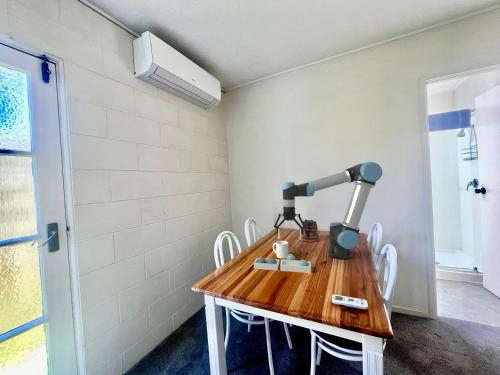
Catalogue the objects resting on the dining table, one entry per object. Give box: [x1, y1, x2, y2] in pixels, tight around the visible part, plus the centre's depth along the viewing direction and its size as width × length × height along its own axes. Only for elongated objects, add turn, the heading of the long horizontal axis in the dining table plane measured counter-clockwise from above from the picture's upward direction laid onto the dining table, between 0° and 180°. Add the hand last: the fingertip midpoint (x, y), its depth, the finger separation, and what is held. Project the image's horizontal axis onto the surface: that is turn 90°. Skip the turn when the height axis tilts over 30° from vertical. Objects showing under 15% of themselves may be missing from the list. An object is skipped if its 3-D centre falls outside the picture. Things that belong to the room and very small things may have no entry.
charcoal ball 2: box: [267, 257, 276, 264], centre depth 125 cm, size 6×6×6 cm
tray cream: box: [279, 259, 312, 274], centre depth 121 cm, size 17×8×4 cm, turn 75°
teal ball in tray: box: [299, 259, 308, 266], centre depth 120 cm, size 6×6×6 cm
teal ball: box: [285, 253, 296, 260], centre depth 131 cm, size 6×6×6 cm
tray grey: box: [253, 257, 280, 271], centre depth 125 cm, size 14×8×4 cm, turn 75°
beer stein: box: [301, 218, 320, 243], centre depth 177 cm, size 19×15×20 cm
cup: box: [272, 240, 289, 259], centre depth 143 cm, size 8×12×10 cm
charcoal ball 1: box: [257, 256, 266, 263], centre depth 126 cm, size 6×6×6 cm
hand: (289, 238), depth 131 cm, fingers open, 13 cm apart
